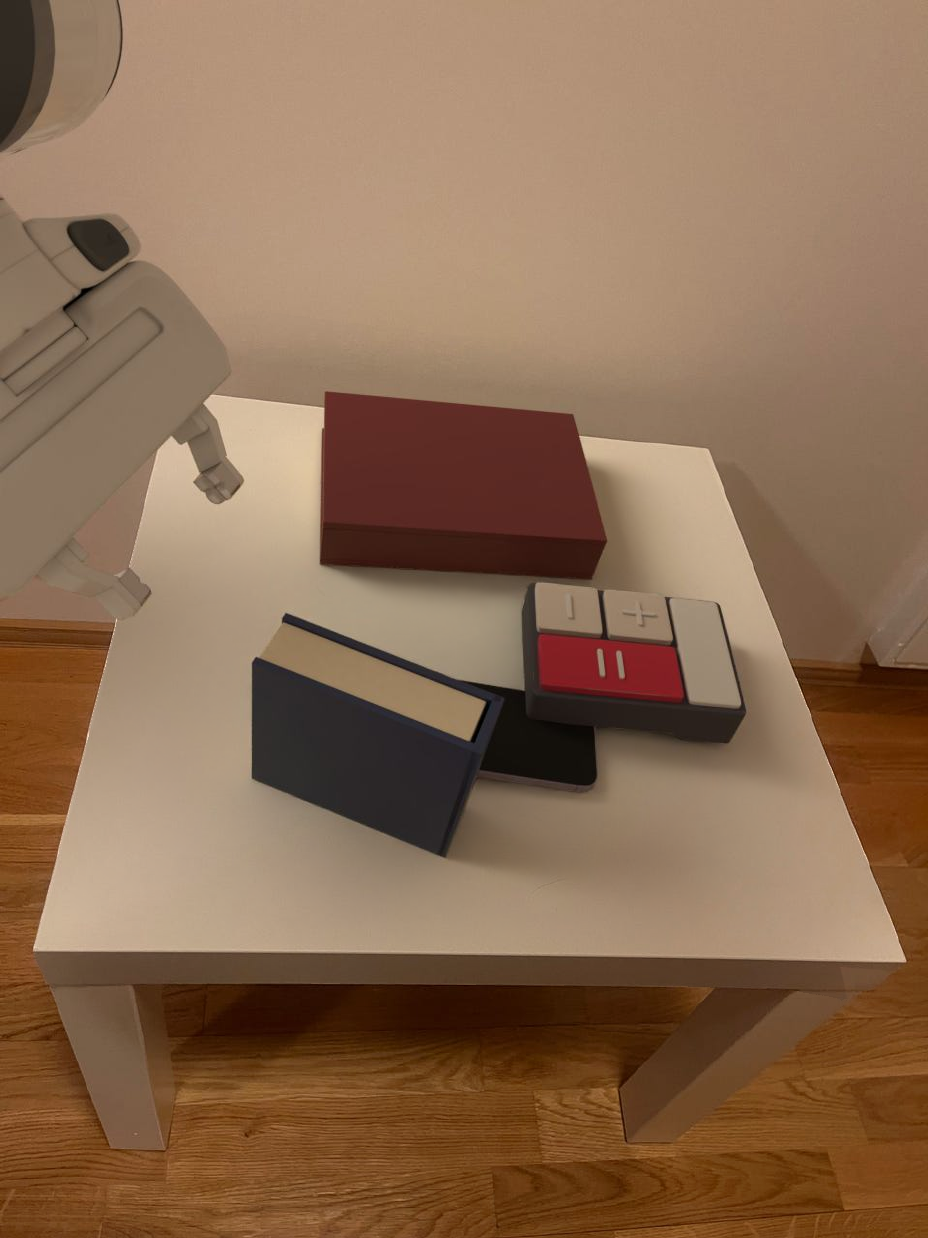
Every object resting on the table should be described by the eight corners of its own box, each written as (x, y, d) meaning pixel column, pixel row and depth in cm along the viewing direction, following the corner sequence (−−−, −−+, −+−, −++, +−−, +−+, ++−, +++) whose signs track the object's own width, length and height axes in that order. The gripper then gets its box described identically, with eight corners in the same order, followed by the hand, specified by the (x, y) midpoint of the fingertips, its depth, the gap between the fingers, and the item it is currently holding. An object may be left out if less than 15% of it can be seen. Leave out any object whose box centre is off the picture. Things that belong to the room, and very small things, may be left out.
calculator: (529, 573, 68) (723, 594, 69) (519, 613, 71) (705, 632, 72) (534, 687, 60) (752, 708, 62) (523, 726, 64) (731, 745, 65)
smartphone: (599, 790, 60) (375, 756, 58) (593, 798, 61) (373, 765, 59) (593, 701, 65) (386, 666, 63) (588, 709, 66) (384, 676, 64)
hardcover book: (445, 858, 56) (482, 754, 47) (251, 778, 57) (251, 662, 48) (466, 806, 59) (505, 697, 50) (280, 730, 60) (285, 612, 51)
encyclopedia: (319, 564, 70) (323, 522, 67) (321, 433, 80) (324, 390, 77) (591, 579, 74) (607, 540, 71) (560, 453, 84) (573, 413, 81)
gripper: (-179, 415, 32) (105, 681, 38) (140, 201, 46) (310, 423, 52) (-239, 472, 36) (30, 705, 42) (73, 258, 49) (240, 458, 56)
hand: (187, 547), depth 47 cm, fingers open, 8 cm apart
